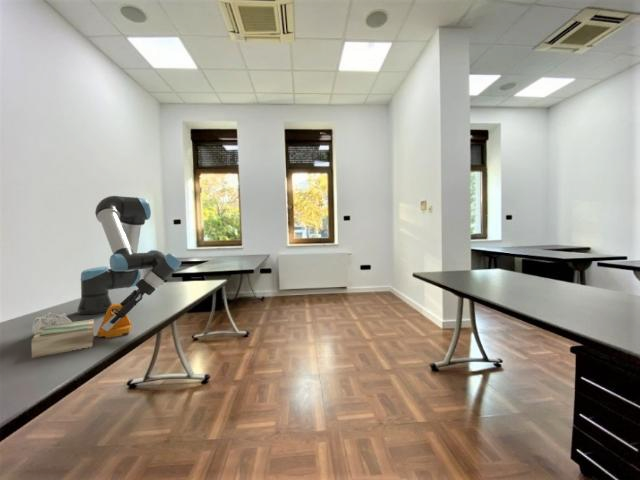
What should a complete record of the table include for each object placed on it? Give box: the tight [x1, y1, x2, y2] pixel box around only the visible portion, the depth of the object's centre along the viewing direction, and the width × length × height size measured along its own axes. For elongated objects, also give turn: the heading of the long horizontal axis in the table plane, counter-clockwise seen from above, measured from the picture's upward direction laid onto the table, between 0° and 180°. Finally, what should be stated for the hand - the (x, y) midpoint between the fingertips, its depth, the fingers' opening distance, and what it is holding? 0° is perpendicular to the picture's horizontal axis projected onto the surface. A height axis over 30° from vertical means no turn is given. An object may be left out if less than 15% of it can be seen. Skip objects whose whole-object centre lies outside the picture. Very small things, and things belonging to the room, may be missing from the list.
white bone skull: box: [31, 311, 73, 337], centre depth 122 cm, size 12×9×10 cm
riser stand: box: [30, 318, 95, 359], centre depth 109 cm, size 18×16×6 cm
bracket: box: [97, 302, 132, 338], centre depth 120 cm, size 11×7×12 cm, turn 119°
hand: (104, 326), depth 118 cm, fingers closed on bracket, 7 cm apart
